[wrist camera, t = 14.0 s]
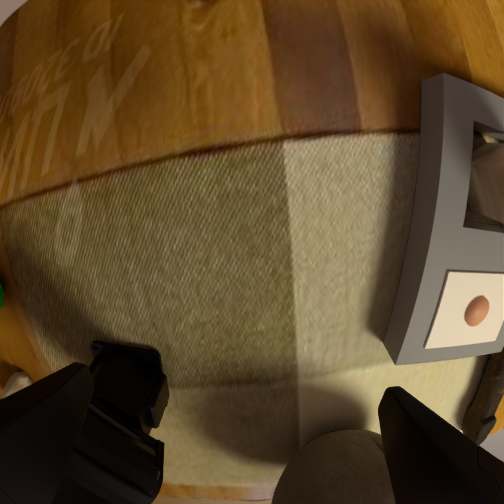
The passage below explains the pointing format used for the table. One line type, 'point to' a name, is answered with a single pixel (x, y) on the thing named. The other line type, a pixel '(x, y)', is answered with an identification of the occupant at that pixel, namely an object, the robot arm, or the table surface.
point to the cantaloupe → (337, 471)
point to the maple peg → (487, 181)
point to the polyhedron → (1, 296)
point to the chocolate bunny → (16, 383)
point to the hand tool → (485, 401)
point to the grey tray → (449, 237)
